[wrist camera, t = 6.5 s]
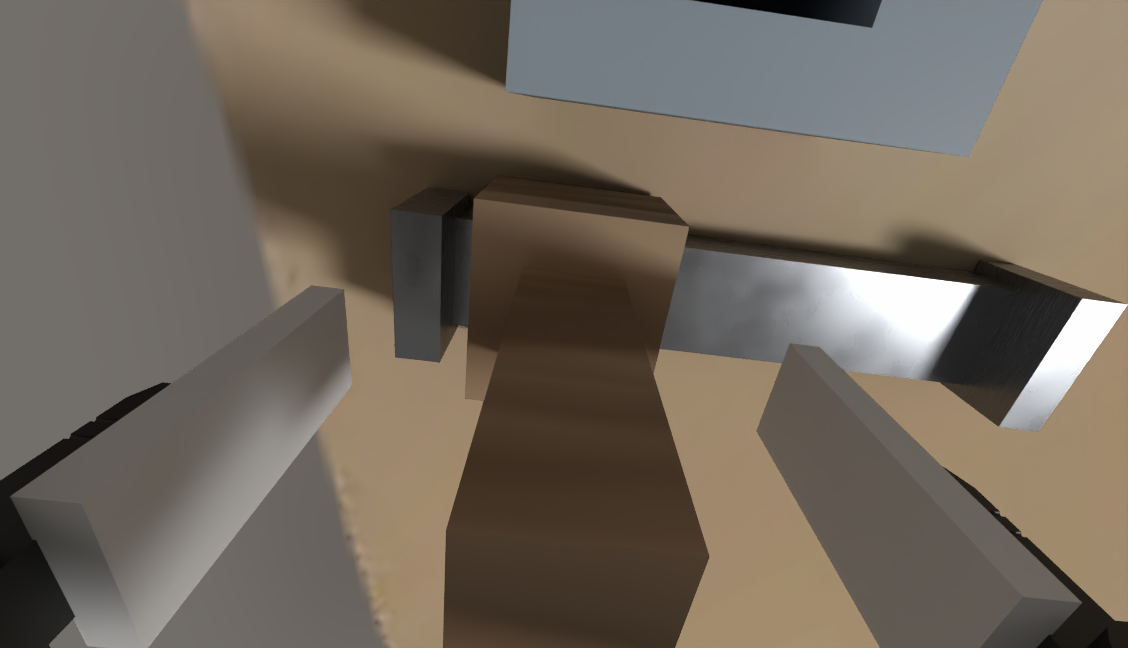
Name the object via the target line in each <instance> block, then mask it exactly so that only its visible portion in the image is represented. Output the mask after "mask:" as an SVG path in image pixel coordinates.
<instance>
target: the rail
mask: <svg viewBox="0 0 1128 648" xmlns="http://www.w3.org/2000/svg"><path fill="white" fill-rule="evenodd" d="M468 197H469V193H466V192H458V191H451V190H443V189H436V188H427V189H425V190H423V191H421V192H420V193H418V194H416V195H415V196H413V197H411V198H409V199H408V200H406V201H404V202H403V203H401V204H399V205H398V206H396V207H394V208H392V209H391V210H390V211H391V241H392V272H393V303H394V333H395V357H397V358H406V359H415V360H423V361H432V362H440V361H441V359H442V357H443V355H444V353H445V351H446V349H447V347H448V345H449V343H450V341H451V339H452V337H453V335H454V333H455V331H456V329H457V327H458V325H465V326H468V319H469V295H470V272H471V249H472V226H473V207H469V206H468ZM1126 306H1127V304H1124V303H1122V302H1119V301H1116V300H1113V299H1111V298H1108V297H1105V296H1102V295H1099V294H1097V293H1094V292H1091V291H1088V290H1086V289H1083V288H1080V287H1077V286H1074V285H1072V284H1069V283H1066V282H1063V281H1060V280H1058V279H1055V278H1052V277H1049V276H1047V275H1044V274H1041V273H1038V272H1035V271H1033V270H1030V269H1027V268H1024V267H1021V266H1019V265H1014V264H1006V263H999V262H991V261H984V260H980V262H979V264H978V266H977V268H976V270H975V272H969V271H961V270H954V269H946V268H938V267H930V266H923V265H915V264H907V263H900V262H892V261H884V260H877V259H869V258H861V257H854V256H846V255H838V254H831V253H823V252H815V251H808V250H800V249H792V248H784V247H777V246H769V245H761V244H754V243H746V242H738V241H731V240H723V239H715V238H708V237H700V236H692V235H687V239H686V243H685V247H684V251H683V255H682V259H681V263H680V267H679V271H678V275H677V279H676V283H675V288H674V292H673V296H672V300H671V304H670V308H669V312H668V316H667V320H666V324H665V328H664V333H663V337H662V341H661V345H660V349H667V350H675V351H684V352H692V353H700V354H709V355H717V356H726V357H734V358H742V359H751V360H759V361H768V362H776V363H783V360H784V357H785V355H786V352H787V349H788V347H789V344H790V343H791V344H800V345H808V346H816V347H820V348H821V349H822V350H823V351H824V352H825V353H826V354H827V355H828V356H829V357H830V358H831V359H832V360H833V361H834V362H835V363H836V364H837V365H838V366H839V367H841V368H842V369H843V370H844V371H852V372H860V373H868V374H877V375H885V376H894V377H902V378H910V379H919V380H927V381H936V382H940V383H941V384H943V385H944V386H945V387H947V388H948V389H949V390H950V391H952V392H953V393H954V394H956V395H957V396H958V397H960V398H961V399H962V400H964V401H965V402H966V403H968V404H969V405H970V406H972V407H973V408H974V409H976V410H977V411H978V412H980V413H981V414H982V415H984V416H985V417H986V418H988V419H989V420H990V421H992V422H993V423H994V424H996V425H997V426H998V427H1004V428H1013V429H1021V430H1030V431H1039V430H1040V429H1041V427H1042V426H1043V424H1044V423H1045V421H1046V420H1047V419H1048V417H1049V416H1050V414H1051V413H1052V412H1053V410H1054V409H1055V407H1056V406H1057V404H1058V403H1059V402H1060V400H1061V399H1062V397H1063V396H1064V394H1065V393H1066V392H1067V390H1068V389H1069V387H1070V386H1071V384H1072V383H1073V382H1074V380H1075V379H1076V377H1077V376H1078V375H1079V373H1080V372H1081V370H1082V369H1083V367H1084V366H1085V365H1086V363H1087V362H1088V360H1089V359H1090V357H1091V356H1092V355H1093V353H1094V352H1095V350H1096V349H1097V348H1098V346H1099V345H1100V343H1101V342H1102V340H1103V339H1104V338H1105V336H1106V335H1107V333H1108V332H1109V330H1110V329H1111V328H1112V326H1113V325H1114V323H1115V322H1116V320H1117V319H1118V318H1119V316H1120V315H1121V313H1122V312H1123V311H1124V309H1125V308H1126Z"/></svg>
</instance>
